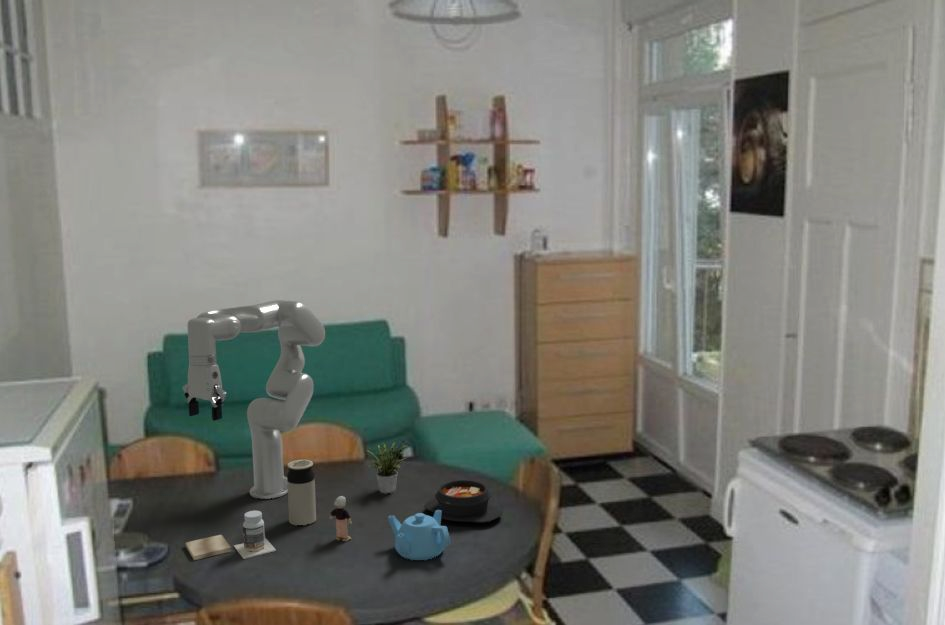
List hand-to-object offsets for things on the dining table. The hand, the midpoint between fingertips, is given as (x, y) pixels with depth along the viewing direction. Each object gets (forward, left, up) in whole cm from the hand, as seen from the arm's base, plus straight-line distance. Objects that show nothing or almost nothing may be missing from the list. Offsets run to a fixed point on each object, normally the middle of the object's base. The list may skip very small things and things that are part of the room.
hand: (205, 417), depth 246 cm
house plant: (-56, +8, -33) cm, 65 cm away
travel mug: (-23, +15, -33) cm, 43 cm away
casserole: (-66, +37, -33) cm, 82 cm away
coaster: (+6, +19, -32) cm, 38 cm away
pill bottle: (-5, +26, -32) cm, 41 cm away
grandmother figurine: (-28, +33, -33) cm, 54 cm away
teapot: (-43, +52, -33) cm, 75 cm away
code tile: (-5, +26, -32) cm, 42 cm away
